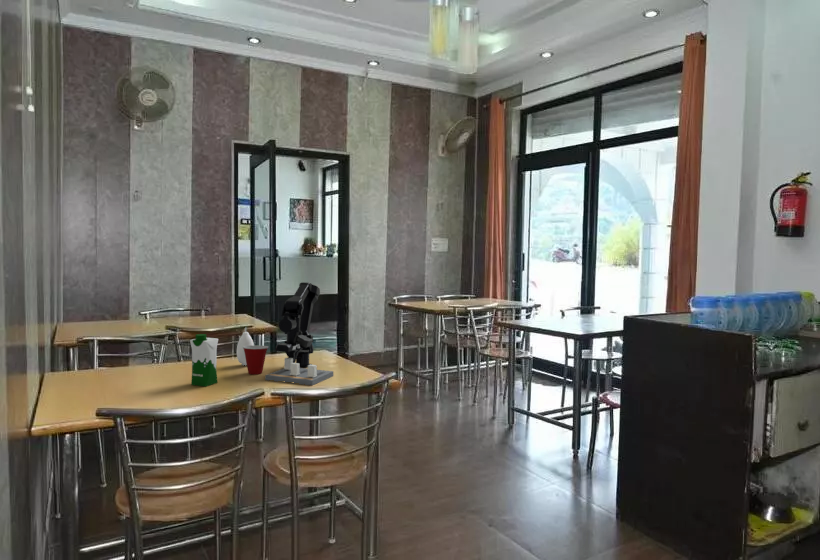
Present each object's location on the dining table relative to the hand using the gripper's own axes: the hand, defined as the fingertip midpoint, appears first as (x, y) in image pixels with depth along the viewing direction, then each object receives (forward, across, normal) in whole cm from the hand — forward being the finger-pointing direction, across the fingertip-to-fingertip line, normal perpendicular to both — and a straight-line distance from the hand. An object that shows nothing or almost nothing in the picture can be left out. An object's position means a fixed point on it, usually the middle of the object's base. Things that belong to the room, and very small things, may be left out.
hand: (293, 364), depth 246 cm
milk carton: (+4, -32, +21) cm, 38 cm away
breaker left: (+1, -12, -16) cm, 20 cm away
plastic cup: (+4, -8, +14) cm, 16 cm away
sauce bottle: (+4, +4, +27) cm, 27 cm away
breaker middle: (+1, -12, -8) cm, 14 cm away
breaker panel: (+4, -8, -8) cm, 12 cm away
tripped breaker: (+1, -3, 0) cm, 4 cm away
